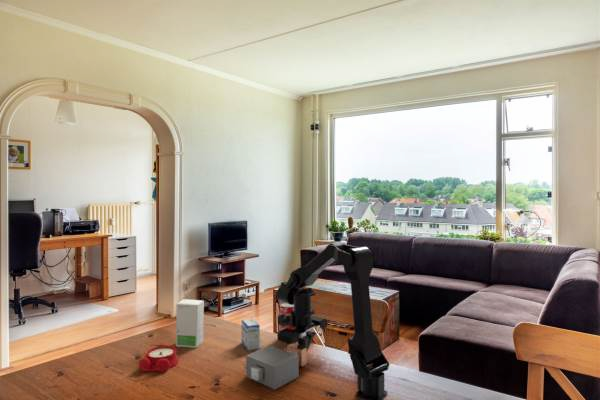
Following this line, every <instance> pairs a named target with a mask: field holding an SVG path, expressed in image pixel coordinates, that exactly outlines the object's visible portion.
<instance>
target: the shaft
mask: <svg viewBox="0 0 600 400" xmlns="http://www.w3.org/2000/svg"><path fill="white" fill-rule="evenodd" d="M286 348H287V350H286V351H287V352H289V353H292V354H295V355H298V362H299V367H304V366H306V365H307V363H308V362H307V359H308V357H307V356H308V355H307V354H308V353H307V352H308V351H307V350H306V347H302V346H299V345H298V344H296V343H293V344H287V347H286ZM251 378H252V379H251V380H253V379H254V380H253V381H255V380H256V381H255V382H257V381H260V380H262V379H264V378H265V370H264V367H262V366H259V365H256V366H254V367H252V368H251Z"/></svg>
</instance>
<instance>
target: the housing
mask: <svg viewBox="0 0 600 400" xmlns="http://www.w3.org/2000/svg"><path fill="white" fill-rule="evenodd" d="M245 360H246V361H245V362H246V363H245V364H246V365H245V369H246V378H248V379H251V380H252V381H255V382H258V383H259V384H261V385H264V386H265V387H269V388H270V389H272V390H277V389H279V388H280V387H283V386H285V385H286V384H288V383H290V382H292V381H294V380H296V379H298V378H299V375H300V374H299V367H300V366H299V362H298V355H295V354H292V353H289V352H287V350H284V349H281V348H278V347H275V346H272V345H268V346H266V347H264V348H261V349H259V350H258V349H257V351H253V352H251V353H250V354H246V359H245ZM256 365H259V366H262V367H264V370H265V378H264V379H262V380H260V381H256V380H254V379H252V378H251V368H252V367H254V366H256Z"/></svg>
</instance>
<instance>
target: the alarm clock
mask: <svg viewBox="0 0 600 400" xmlns="http://www.w3.org/2000/svg"><path fill="white" fill-rule="evenodd" d="M179 349H180V347H178V348H175V347H174V346H169V345H168V346H167V345H164V346H163V345H161V346H156V347H153V348H151V349H149V350H148V351H147V352H146V354H145V357H143V358H141V359H140V360H139V362H138V363H139V364H138V366H139V369H140V370H141V372H144V373H145V372H146V373H147V372H153V371H157V372H159V373H165V371H166V372H167V371H168V370H169V369H170V368H173V367H175V366H177V364H178V363H179V358H178V355H177V350H179Z"/></svg>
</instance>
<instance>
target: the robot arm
mask: <svg viewBox="0 0 600 400" xmlns="http://www.w3.org/2000/svg"><path fill="white" fill-rule="evenodd" d="M333 262H337V263H339V264H342V265H343V269H344V273H345V274H346V276H347V278H348V279H349V280H350V290H351V291H350V293H351V301H352V314H353V325H354V333H353V335H352V336H351V337H350V338H348V339H347V345H348V355H349V357H350V362H351V363H352V367H353V372H354V374H355V375H357V378H356V380H357V384H356V385H357V388H356V389H357V391H355V396H357V397H359V398H362V399H365V400H381V399H383V398H384V397H385V396H386V395H388V391H387V390H385V373H384V372H386V371H388V370H389V367H390V362H389V361H388V359H387V358H386V357H385V355H384V353H383V351H382V349H381V345H380V340H379V338H378V337H377V336H376V334H375V332H374V330H373V320H372V318H373V317H372V306H371V296H370V295H371V294H370V293H371V292H370V284H369V279H370V276H371V274H372V271H373V265H374V264H373V263H374V254H373V252H372V250H370V249H369V247H367V246H354V245H350V244H345V243H342V242H333V243H329V244H327V245H326V247H325V248H324V249H322V251H321V252H320V253H318V254H317V255H316V256H315V257H314V258H313V259H312V260H310V261H309V262H308V263H307V264H306V265H303V266H300V267H298V268H296V269H294V270H292V271H291V273H290V275H289V278H288V280H287V281H282V282H280V286H279V287H278V289H277V290H276V295H275V296H276V299H277V301H279V302H281V303H287V304H290V305H294V310H293V311H291V314H288V315H285V314H282V315H277V323H278V325H279V326H280V325H282V326H283V327H285V326H287V325H290V327H292V328H293V327H295V329H294V330H291V329H288V328H286V329H283V330H281V331H280V330H278V332H277V336H276V337H277V341H279V342H282V343H285V344H287V345H289V344H296V343H297V345H299V346H302V347H306V350H307V352H308V350H309V348H310V347H311V344H312V342H313V340H314V338H315V336H317V332H315V331H314V328H317V327H318V326H319V328H320V329H321V330H324V329H326V328H328V321H327V320H326V318H324V317H321V316H320V317H319V316H316V315H315V310H313V309H312V297H314V296H317V293H316V292H315V291H314V290H313V289H312V286H313V285H314V284H315V282H316V281H317V280H318V277H319V274H320V273H322V272H323V271H324V270H325V269H326V268H328V267H329V266H330V265H331V264H332V263H333ZM310 286H311V287H310ZM306 287H308V288H306ZM313 315H315V316H313Z"/></svg>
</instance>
